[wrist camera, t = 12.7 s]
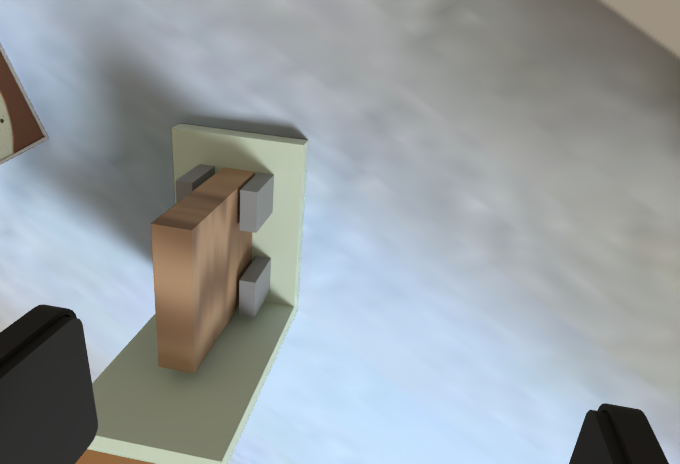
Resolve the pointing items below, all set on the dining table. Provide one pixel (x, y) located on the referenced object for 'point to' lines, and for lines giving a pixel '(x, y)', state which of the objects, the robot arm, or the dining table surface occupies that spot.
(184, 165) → the hinge base
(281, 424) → the dining table surface
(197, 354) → the wooden block
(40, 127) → the food container
